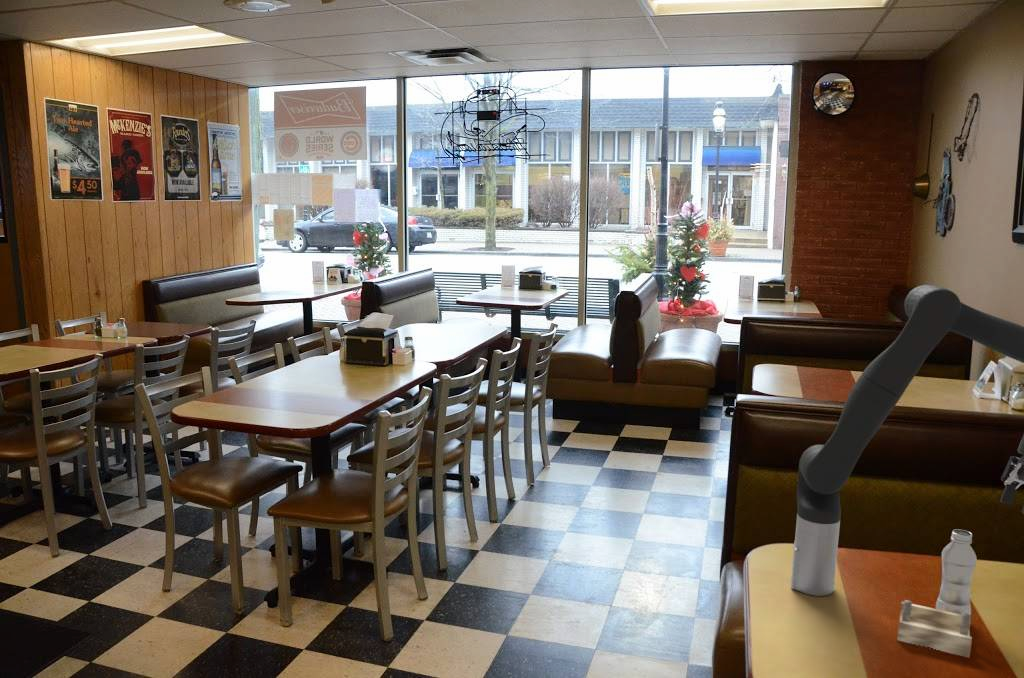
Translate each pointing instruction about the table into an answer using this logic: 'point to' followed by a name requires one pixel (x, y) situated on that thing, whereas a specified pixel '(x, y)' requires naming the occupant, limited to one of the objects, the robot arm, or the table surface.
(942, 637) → the caddy
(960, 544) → the plastic bottle
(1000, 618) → the table surface
